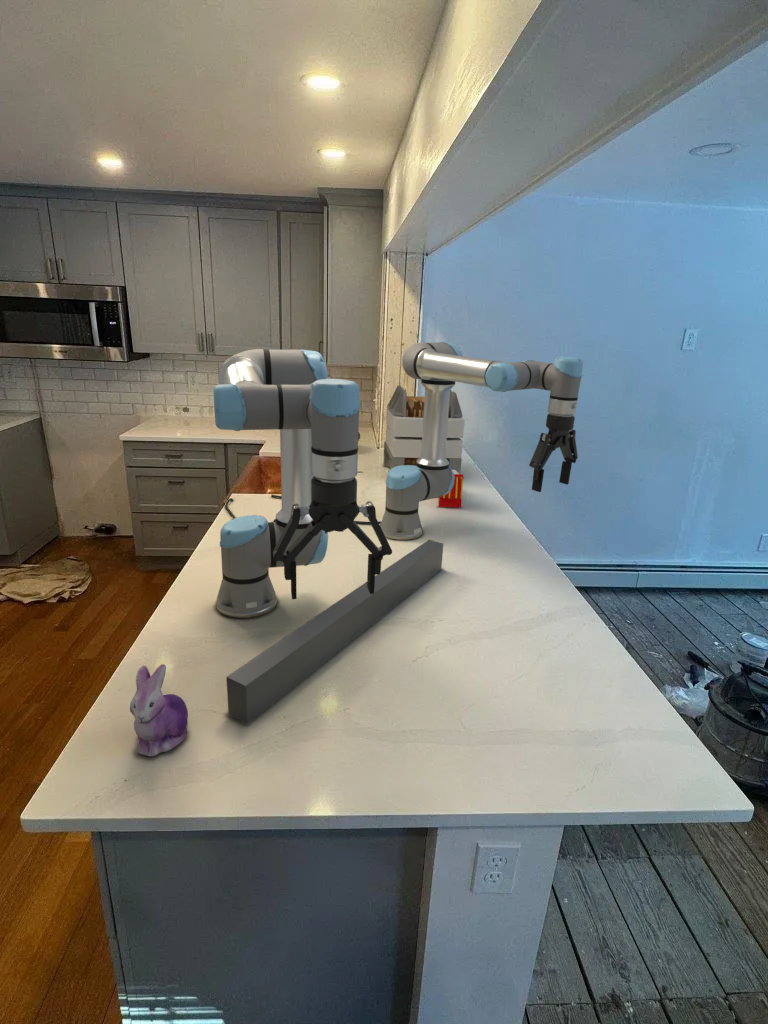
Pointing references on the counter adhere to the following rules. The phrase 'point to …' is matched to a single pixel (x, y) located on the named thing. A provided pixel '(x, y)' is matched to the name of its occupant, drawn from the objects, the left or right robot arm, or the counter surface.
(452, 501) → the toy
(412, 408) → the grey bottle crate
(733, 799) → the counter surface
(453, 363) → the right robot arm
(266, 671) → the beam
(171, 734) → the figurine
